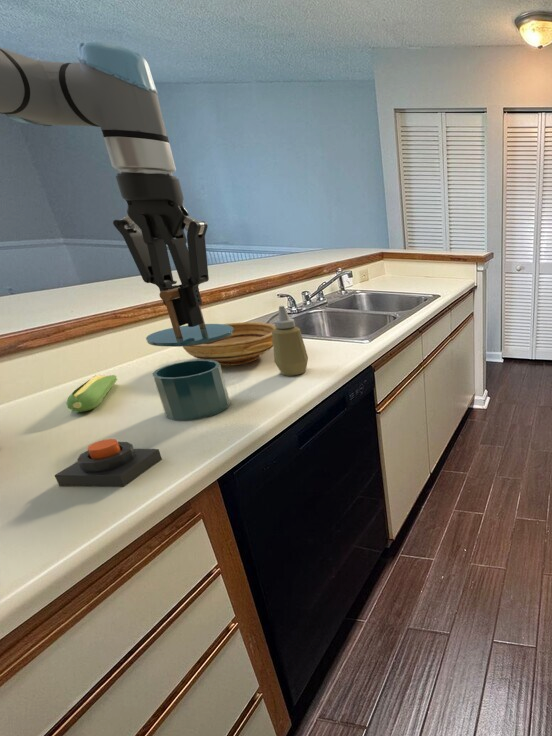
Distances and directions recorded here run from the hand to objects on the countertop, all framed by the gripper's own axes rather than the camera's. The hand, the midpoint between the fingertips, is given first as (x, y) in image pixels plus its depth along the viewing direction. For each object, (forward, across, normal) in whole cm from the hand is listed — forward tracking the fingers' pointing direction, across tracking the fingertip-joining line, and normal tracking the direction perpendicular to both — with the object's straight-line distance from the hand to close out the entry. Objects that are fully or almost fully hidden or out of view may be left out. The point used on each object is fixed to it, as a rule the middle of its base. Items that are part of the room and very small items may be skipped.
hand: (189, 324), depth 73 cm
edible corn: (+22, +38, -17) cm, 47 cm away
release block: (+22, +10, +12) cm, 27 cm away
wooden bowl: (+22, +23, -45) cm, 55 cm away
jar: (+22, +12, -12) cm, 28 cm away
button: (+19, +10, +12) cm, 24 cm away
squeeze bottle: (+22, +2, -35) cm, 42 cm away
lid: (+2, 0, 0) cm, 2 cm away
